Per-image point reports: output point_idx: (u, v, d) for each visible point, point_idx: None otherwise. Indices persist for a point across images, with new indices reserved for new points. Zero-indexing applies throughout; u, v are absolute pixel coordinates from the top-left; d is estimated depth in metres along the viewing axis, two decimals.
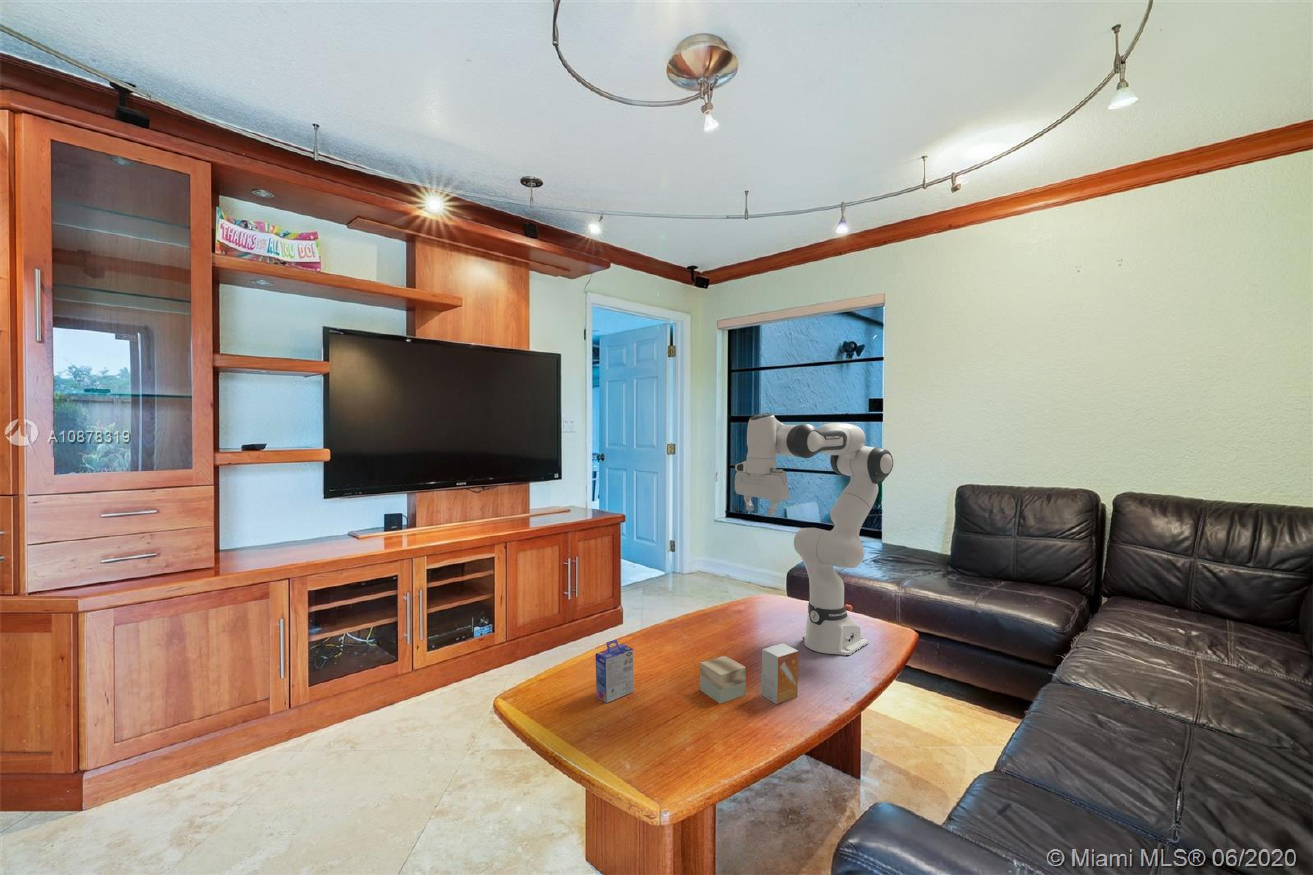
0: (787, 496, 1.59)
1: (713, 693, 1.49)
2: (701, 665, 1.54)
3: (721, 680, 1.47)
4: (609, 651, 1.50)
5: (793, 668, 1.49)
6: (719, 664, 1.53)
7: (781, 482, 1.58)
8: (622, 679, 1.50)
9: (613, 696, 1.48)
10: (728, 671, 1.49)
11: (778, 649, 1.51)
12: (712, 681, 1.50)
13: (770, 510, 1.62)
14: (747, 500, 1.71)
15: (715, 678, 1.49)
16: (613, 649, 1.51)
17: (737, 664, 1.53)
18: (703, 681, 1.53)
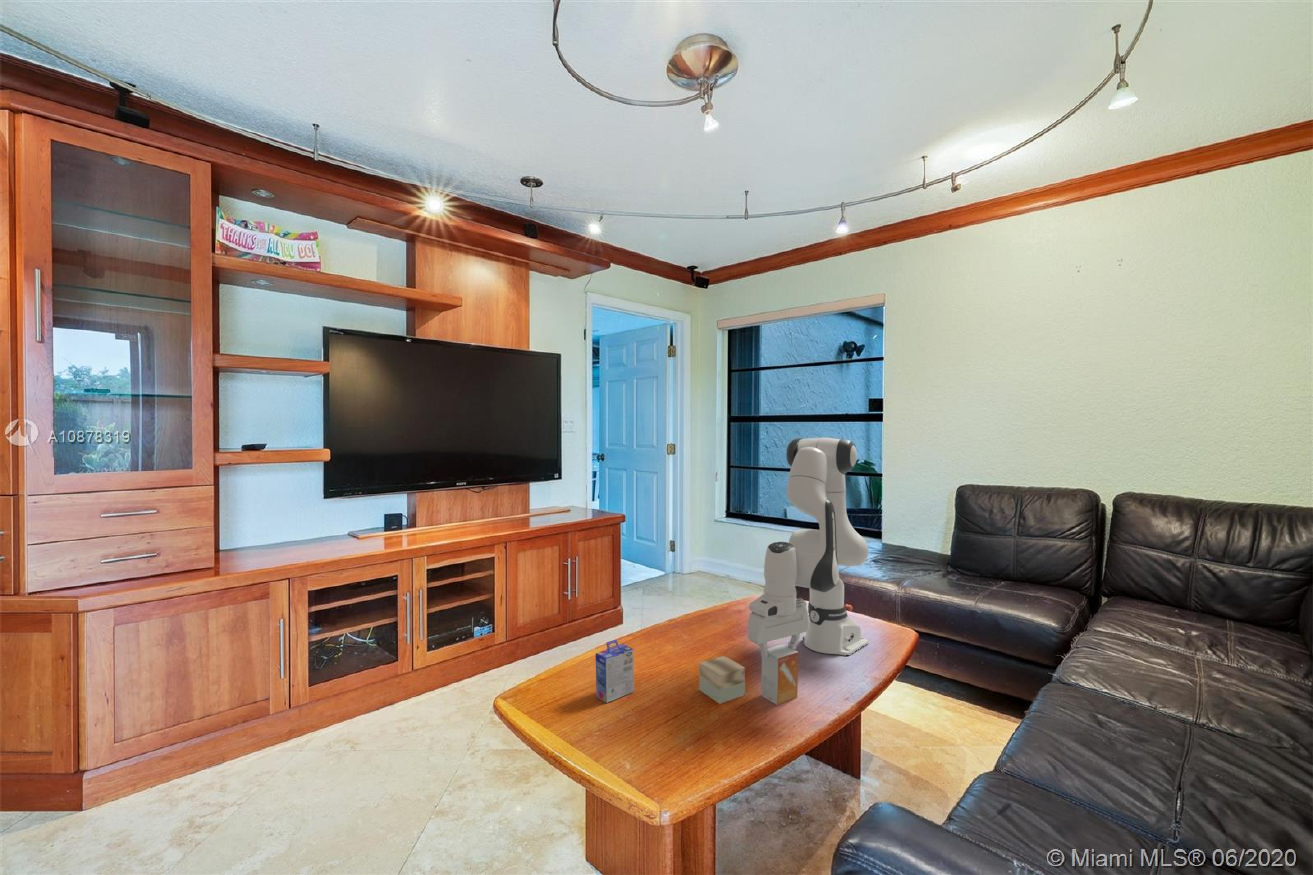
0: None
1: (712, 693, 1.49)
2: (700, 665, 1.54)
3: (720, 681, 1.47)
4: (609, 651, 1.50)
5: (793, 669, 1.49)
6: (718, 665, 1.53)
7: None
8: (622, 679, 1.50)
9: (613, 696, 1.48)
10: (727, 671, 1.49)
11: (778, 650, 1.51)
12: (711, 681, 1.50)
13: (795, 645, 1.52)
14: None
15: (714, 679, 1.48)
16: (613, 649, 1.51)
17: (736, 664, 1.53)
18: (703, 681, 1.53)
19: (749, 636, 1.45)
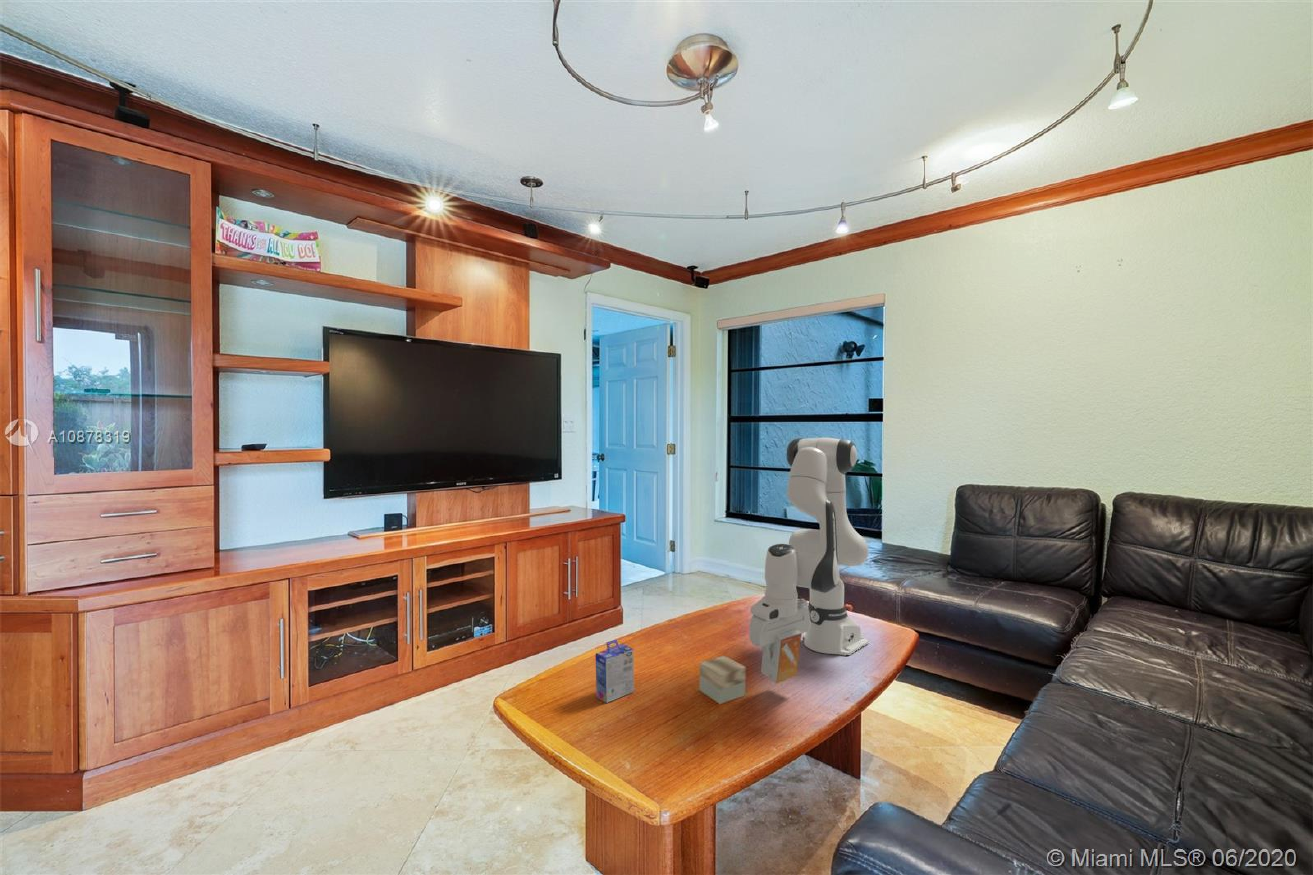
0: None
1: (712, 693, 1.49)
2: (701, 665, 1.54)
3: (721, 680, 1.47)
4: (609, 651, 1.50)
5: (795, 649, 1.50)
6: (718, 664, 1.53)
7: None
8: (622, 679, 1.50)
9: (613, 696, 1.48)
10: (728, 671, 1.49)
11: None
12: (712, 681, 1.49)
13: None
14: None
15: (715, 679, 1.48)
16: (613, 649, 1.51)
17: (737, 664, 1.53)
18: (703, 681, 1.53)
19: (751, 639, 1.46)
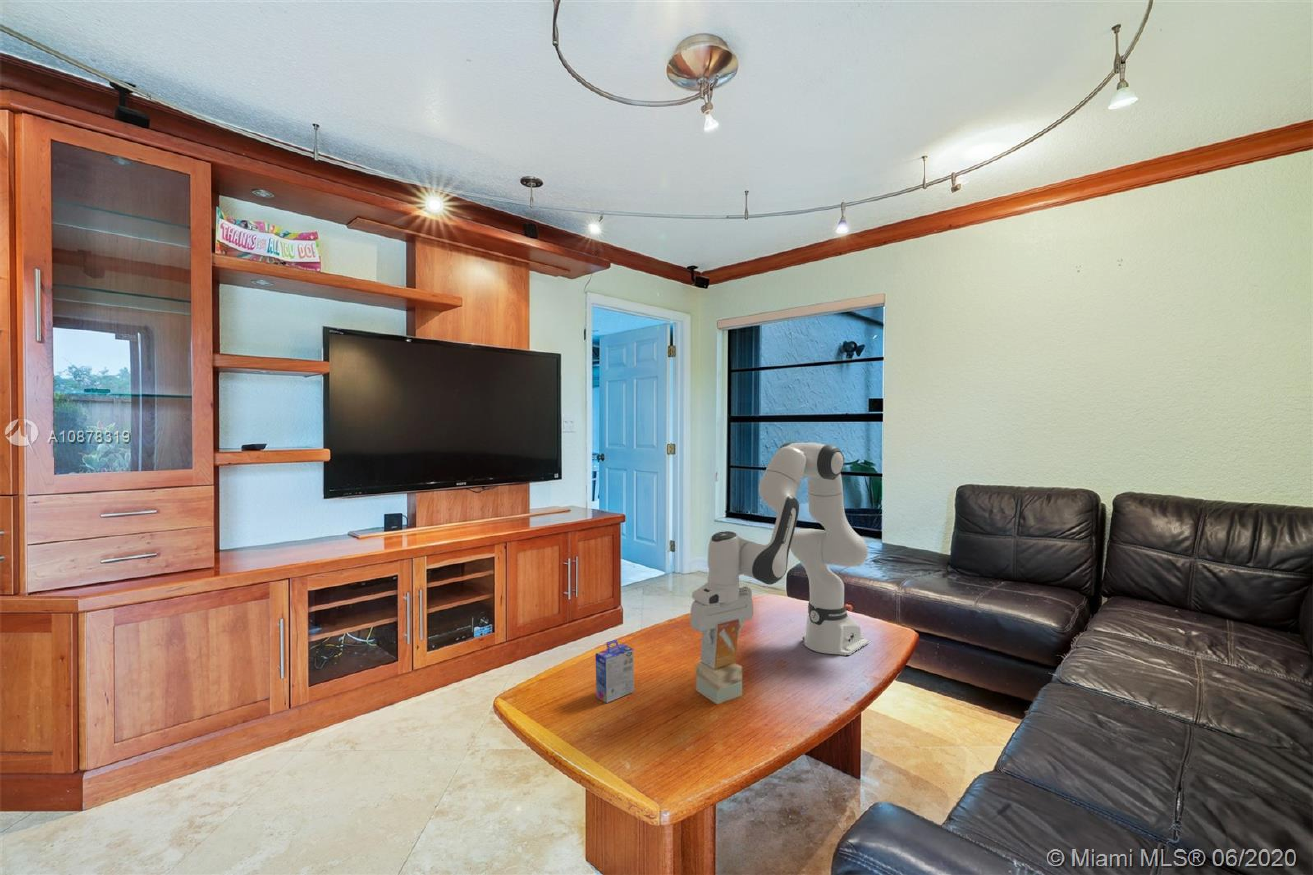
0: None
1: (709, 693, 1.49)
2: (697, 666, 1.53)
3: (719, 680, 1.47)
4: (609, 651, 1.50)
5: (732, 636, 1.52)
6: None
7: None
8: (622, 680, 1.50)
9: (613, 696, 1.48)
10: (725, 671, 1.49)
11: None
12: (709, 681, 1.49)
13: (738, 632, 1.55)
14: None
15: (713, 679, 1.48)
16: (613, 649, 1.51)
17: (733, 664, 1.53)
18: (700, 681, 1.52)
19: (691, 624, 1.48)
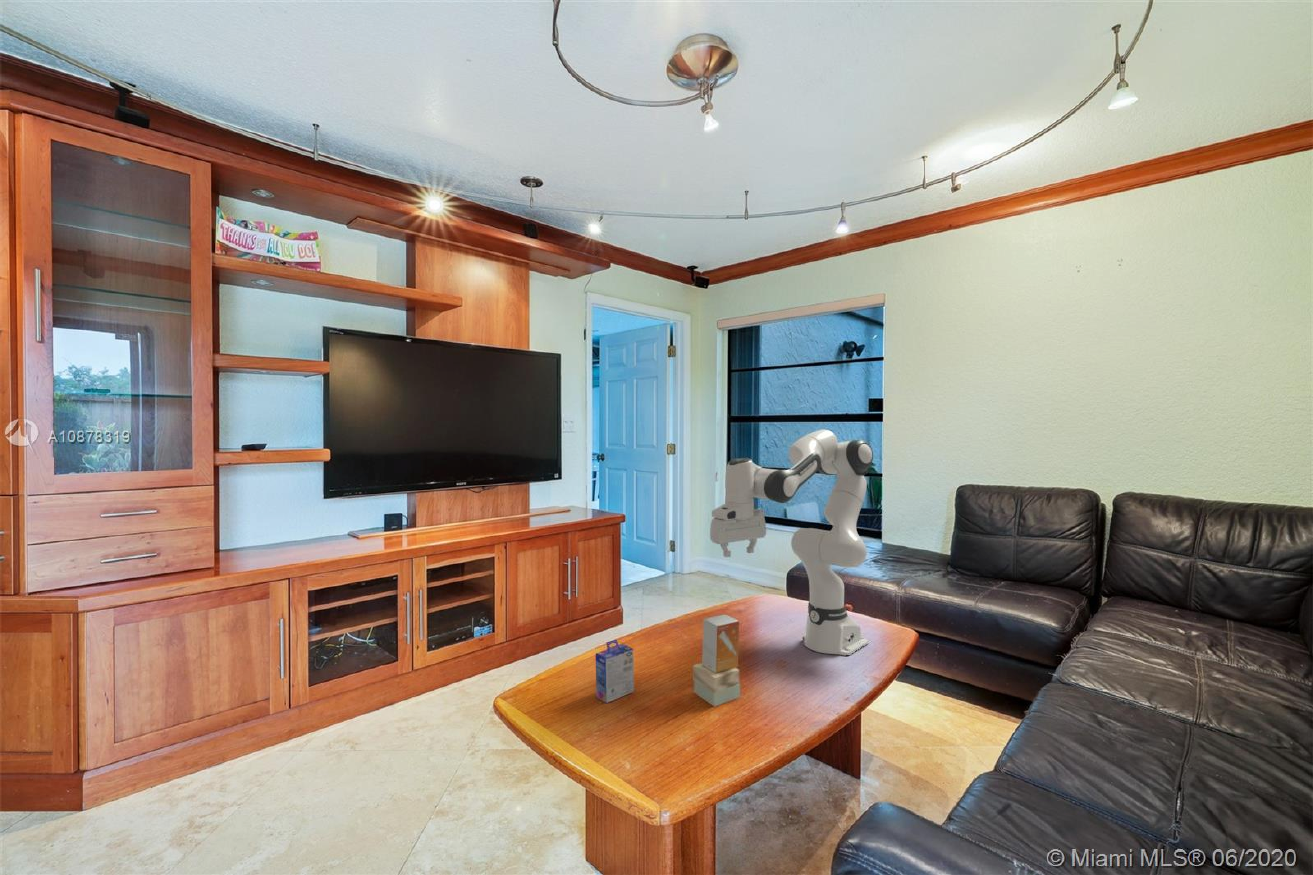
0: None
1: (707, 695, 1.48)
2: (694, 668, 1.52)
3: (715, 683, 1.45)
4: (609, 651, 1.50)
5: (733, 638, 1.50)
6: None
7: None
8: (622, 679, 1.50)
9: (613, 696, 1.48)
10: (722, 674, 1.47)
11: (719, 619, 1.52)
12: (706, 684, 1.48)
13: (752, 548, 1.73)
14: None
15: (709, 682, 1.47)
16: (613, 649, 1.51)
17: None
18: (698, 684, 1.51)
19: (711, 538, 1.66)
